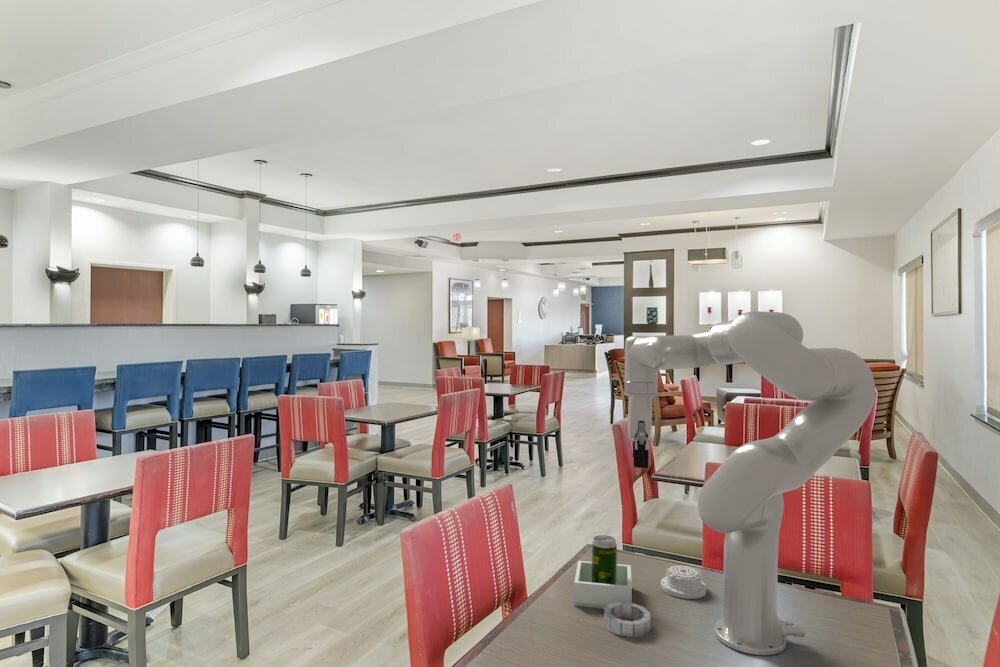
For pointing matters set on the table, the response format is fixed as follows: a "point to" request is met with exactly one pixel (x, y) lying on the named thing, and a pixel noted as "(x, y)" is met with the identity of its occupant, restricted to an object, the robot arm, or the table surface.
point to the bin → (601, 587)
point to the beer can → (604, 560)
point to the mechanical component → (683, 582)
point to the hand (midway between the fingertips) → (640, 462)
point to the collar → (627, 627)
